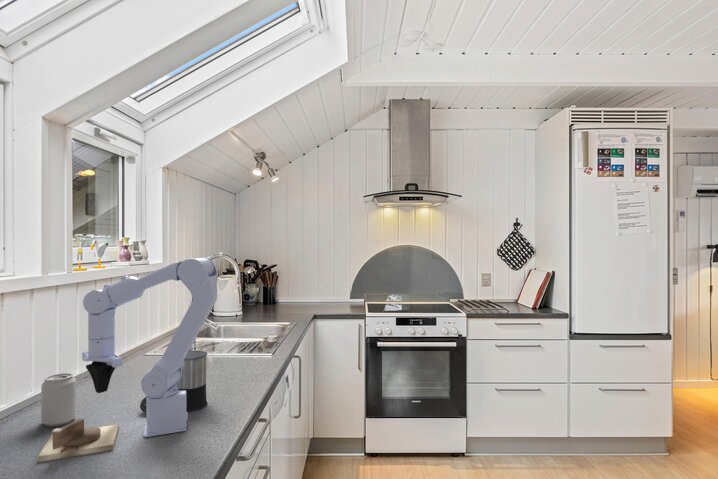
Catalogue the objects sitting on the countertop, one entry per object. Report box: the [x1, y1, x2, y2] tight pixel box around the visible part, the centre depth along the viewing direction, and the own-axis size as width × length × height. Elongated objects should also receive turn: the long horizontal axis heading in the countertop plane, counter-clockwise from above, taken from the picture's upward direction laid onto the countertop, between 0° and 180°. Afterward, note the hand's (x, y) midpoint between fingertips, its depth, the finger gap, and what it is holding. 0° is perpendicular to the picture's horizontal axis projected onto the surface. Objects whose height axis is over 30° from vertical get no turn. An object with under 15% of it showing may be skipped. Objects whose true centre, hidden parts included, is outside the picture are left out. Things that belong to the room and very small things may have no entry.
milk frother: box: [139, 350, 208, 414], centre depth 123 cm, size 14×16×15 cm
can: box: [40, 372, 77, 427], centre depth 114 cm, size 8×8×12 cm
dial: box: [51, 418, 101, 448], centre depth 99 cm, size 11×8×5 cm
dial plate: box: [37, 423, 120, 463], centre depth 101 cm, size 14×12×1 cm
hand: (101, 391), depth 109 cm, fingers closed
